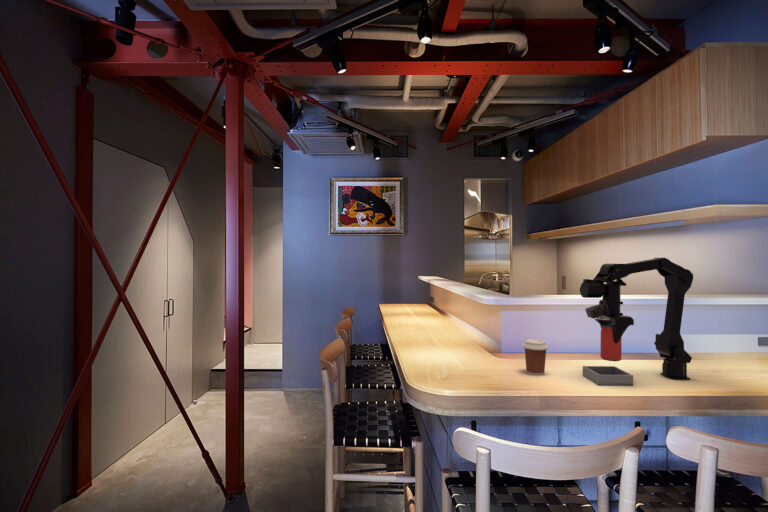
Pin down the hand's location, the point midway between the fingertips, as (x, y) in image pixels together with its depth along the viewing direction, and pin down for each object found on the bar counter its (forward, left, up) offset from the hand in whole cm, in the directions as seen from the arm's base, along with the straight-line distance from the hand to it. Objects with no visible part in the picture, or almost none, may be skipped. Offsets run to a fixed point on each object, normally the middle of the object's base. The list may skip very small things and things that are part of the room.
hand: (610, 341), depth 143 cm
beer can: (0, 0, -7) cm, 7 cm away
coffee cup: (+25, -6, -14) cm, 29 cm away
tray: (+3, +3, -13) cm, 14 cm away
